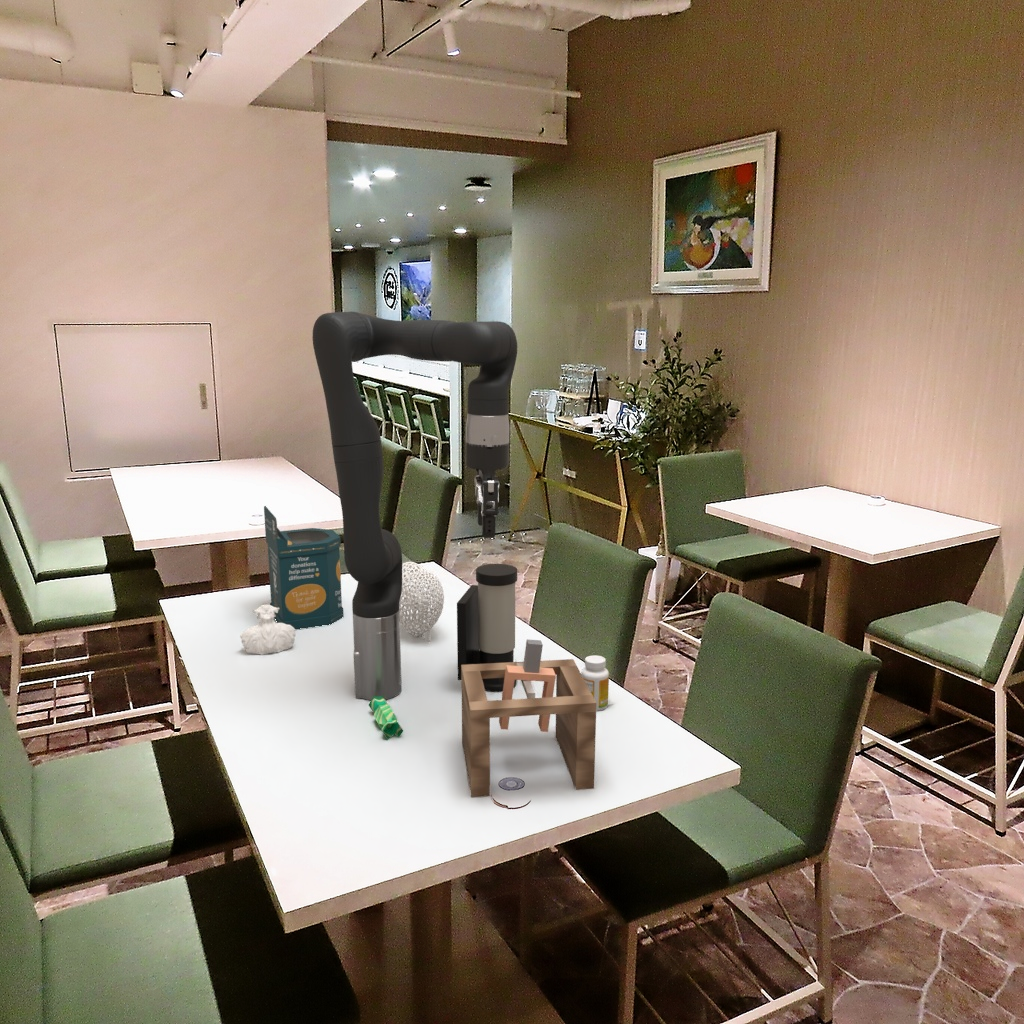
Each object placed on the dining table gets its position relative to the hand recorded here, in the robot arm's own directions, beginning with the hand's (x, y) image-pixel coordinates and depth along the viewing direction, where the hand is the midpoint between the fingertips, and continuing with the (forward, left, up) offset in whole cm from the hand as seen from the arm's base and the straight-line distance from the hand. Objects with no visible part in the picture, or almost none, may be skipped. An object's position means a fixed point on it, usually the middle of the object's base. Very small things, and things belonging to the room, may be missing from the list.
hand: (486, 531), depth 155 cm
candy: (-19, +3, -38) cm, 43 cm away
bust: (-45, +44, -38) cm, 74 cm away
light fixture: (+3, +19, -38) cm, 43 cm away
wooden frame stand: (+5, -15, -38) cm, 41 cm away
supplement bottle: (+22, +6, -38) cm, 44 cm away
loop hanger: (+5, -15, -31) cm, 34 cm away
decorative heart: (-11, +48, -38) cm, 62 cm away
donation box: (-38, +65, -38) cm, 85 cm away
